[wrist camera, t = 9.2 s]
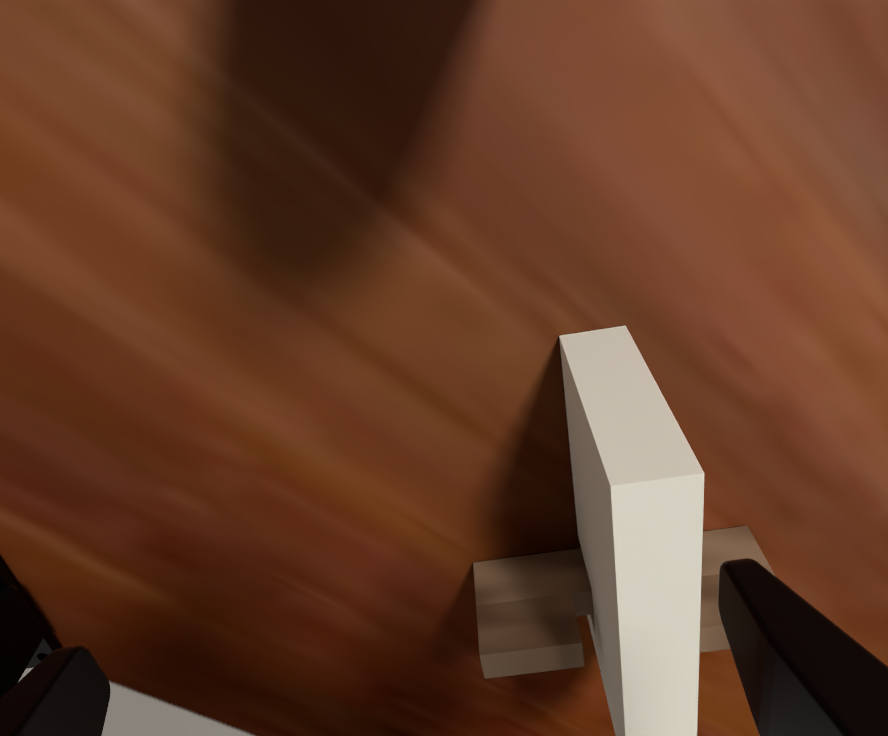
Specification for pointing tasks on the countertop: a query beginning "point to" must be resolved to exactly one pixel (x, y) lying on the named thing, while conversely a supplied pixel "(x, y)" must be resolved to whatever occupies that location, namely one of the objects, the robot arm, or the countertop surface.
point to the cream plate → (636, 533)
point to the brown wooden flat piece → (574, 604)
